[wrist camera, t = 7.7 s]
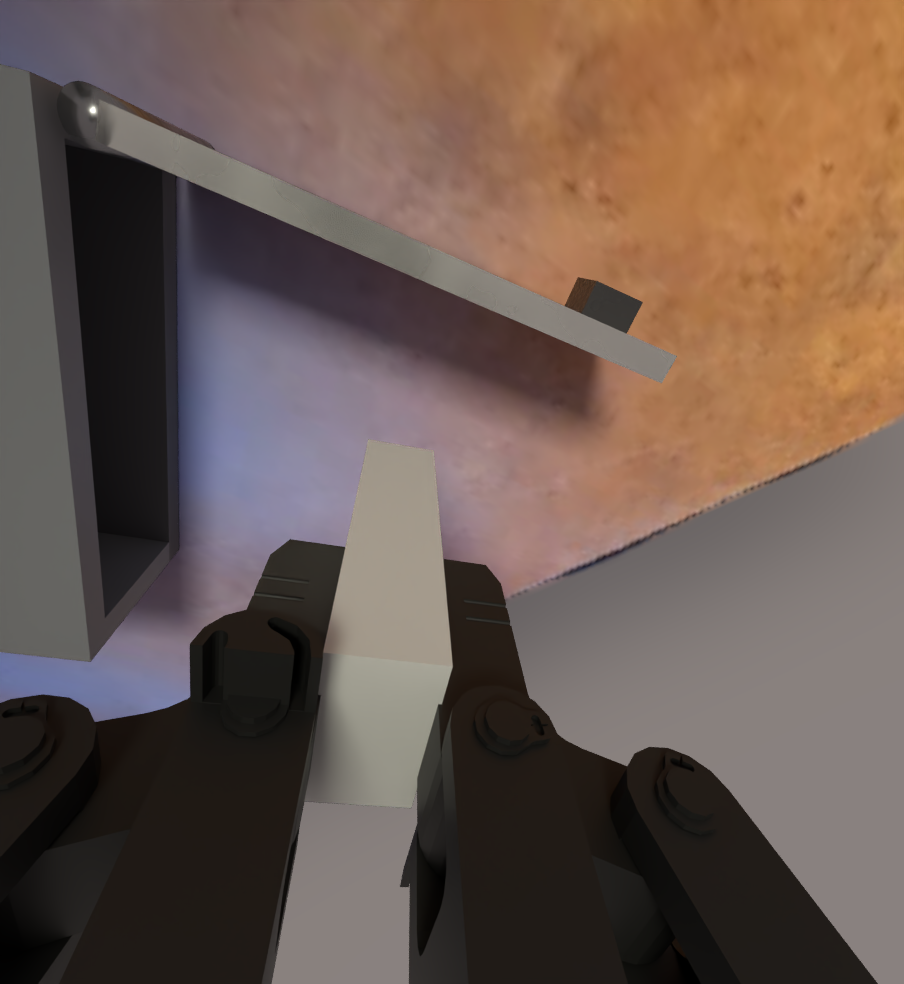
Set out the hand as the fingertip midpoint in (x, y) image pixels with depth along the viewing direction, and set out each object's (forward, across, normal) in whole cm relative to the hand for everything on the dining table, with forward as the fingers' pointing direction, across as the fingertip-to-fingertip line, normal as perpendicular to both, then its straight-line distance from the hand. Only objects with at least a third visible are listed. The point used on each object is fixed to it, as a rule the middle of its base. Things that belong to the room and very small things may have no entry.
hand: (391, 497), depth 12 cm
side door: (+9, -1, +5) cm, 11 cm away
